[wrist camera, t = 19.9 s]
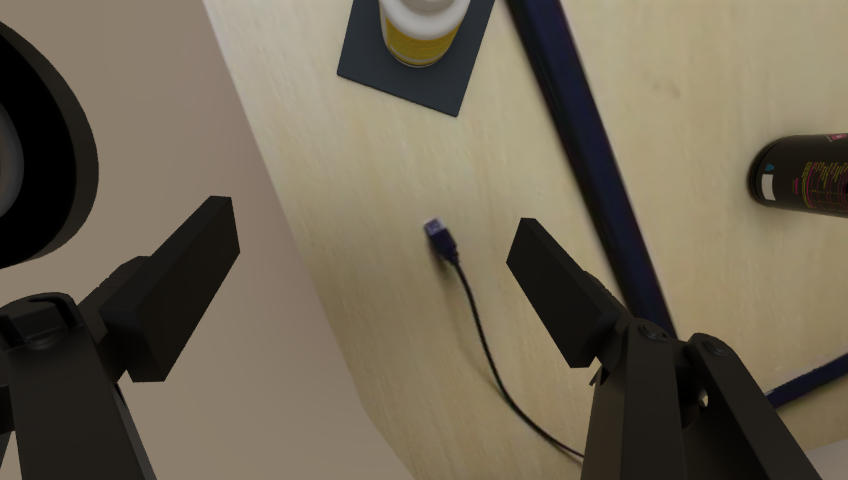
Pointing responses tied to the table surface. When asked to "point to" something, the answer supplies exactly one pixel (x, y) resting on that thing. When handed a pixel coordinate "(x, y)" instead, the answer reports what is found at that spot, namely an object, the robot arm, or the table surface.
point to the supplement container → (804, 174)
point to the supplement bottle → (420, 28)
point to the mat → (421, 85)
